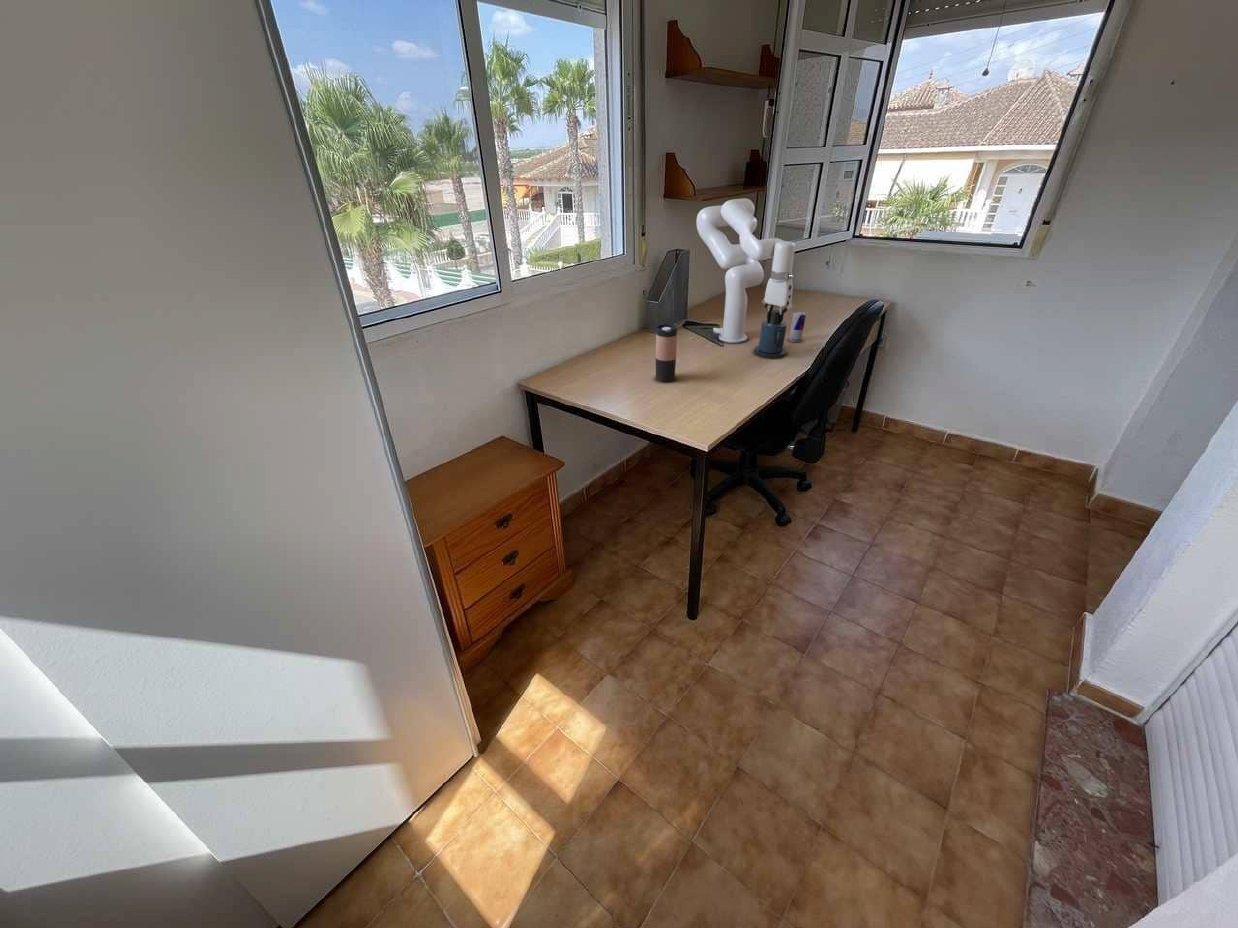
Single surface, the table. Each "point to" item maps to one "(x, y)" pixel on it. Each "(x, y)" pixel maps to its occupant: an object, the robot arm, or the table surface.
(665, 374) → the travel mug
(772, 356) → the base
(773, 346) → the kettle
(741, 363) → the table surface
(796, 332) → the energy drink
